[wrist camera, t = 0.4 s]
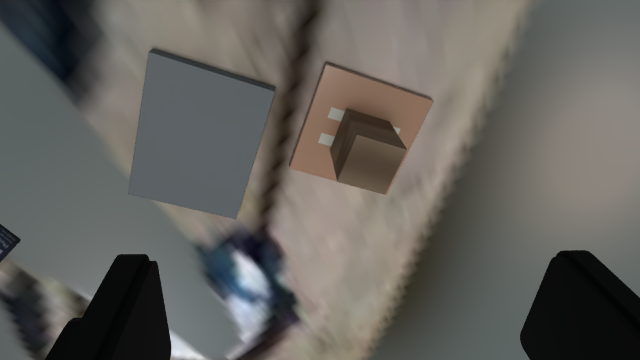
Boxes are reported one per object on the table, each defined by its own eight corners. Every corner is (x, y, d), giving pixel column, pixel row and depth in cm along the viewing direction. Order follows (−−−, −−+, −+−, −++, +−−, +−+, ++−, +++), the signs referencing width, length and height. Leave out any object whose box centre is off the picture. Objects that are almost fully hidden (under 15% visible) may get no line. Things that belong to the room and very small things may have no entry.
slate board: (153, 48, 38) (148, 51, 37) (275, 87, 41) (274, 91, 40) (132, 187, 45) (127, 194, 44) (237, 211, 48) (236, 219, 47)
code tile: (325, 62, 40) (326, 64, 39) (430, 98, 43) (433, 101, 42) (289, 164, 45) (289, 168, 44) (385, 190, 48) (386, 194, 47)
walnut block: (346, 107, 41) (357, 134, 35) (389, 121, 43) (407, 149, 37) (329, 149, 44) (337, 181, 38) (371, 161, 45) (385, 194, 39)
